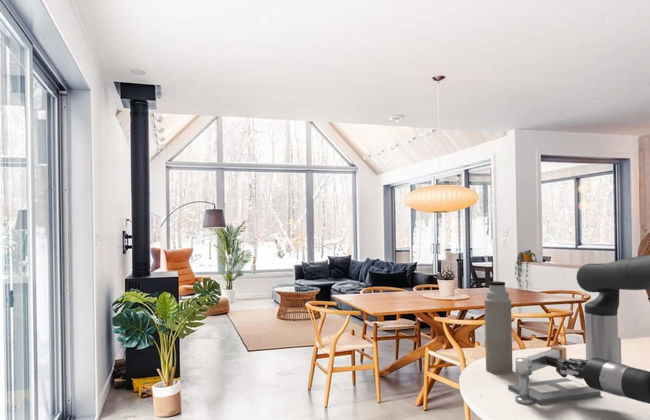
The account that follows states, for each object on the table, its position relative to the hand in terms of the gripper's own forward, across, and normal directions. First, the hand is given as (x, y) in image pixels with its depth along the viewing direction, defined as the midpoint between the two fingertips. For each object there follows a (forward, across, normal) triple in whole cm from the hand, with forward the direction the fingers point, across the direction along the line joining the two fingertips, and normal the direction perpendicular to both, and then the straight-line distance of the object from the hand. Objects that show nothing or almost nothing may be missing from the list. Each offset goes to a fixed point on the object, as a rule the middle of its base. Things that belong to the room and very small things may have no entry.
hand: (548, 360), depth 131 cm
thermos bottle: (+22, -5, +9) cm, 24 cm away
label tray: (0, -2, +9) cm, 9 cm away
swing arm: (+1, +2, +2) cm, 3 cm away
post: (-1, +10, +9) cm, 14 cm away
